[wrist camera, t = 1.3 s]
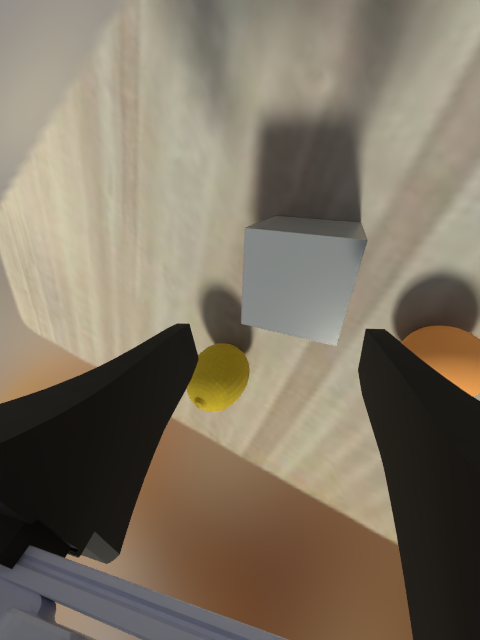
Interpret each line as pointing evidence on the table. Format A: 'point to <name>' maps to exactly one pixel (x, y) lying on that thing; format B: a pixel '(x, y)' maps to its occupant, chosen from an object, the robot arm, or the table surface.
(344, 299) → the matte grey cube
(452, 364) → the ball
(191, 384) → the lemon
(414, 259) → the table surface
